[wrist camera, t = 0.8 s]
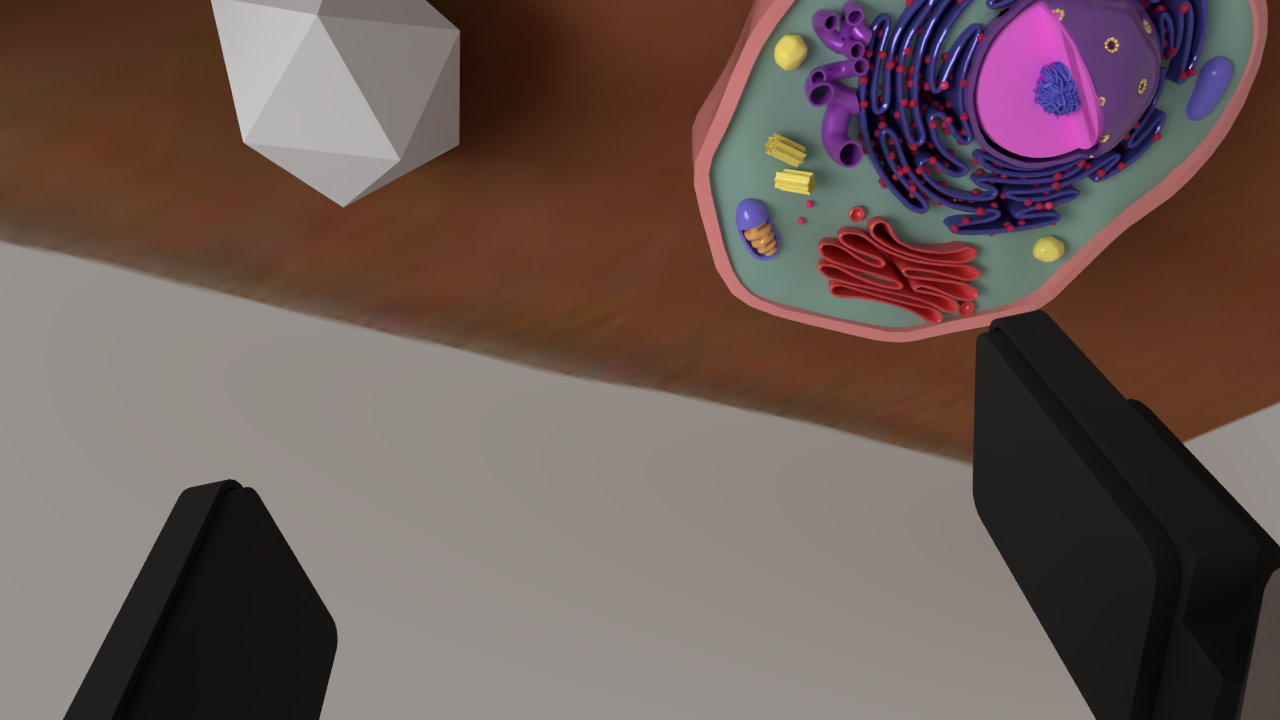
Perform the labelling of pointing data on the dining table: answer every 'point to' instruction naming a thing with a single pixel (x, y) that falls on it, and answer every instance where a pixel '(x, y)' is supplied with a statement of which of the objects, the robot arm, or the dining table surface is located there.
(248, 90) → the die
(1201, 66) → the cell model
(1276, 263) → the dining table surface
